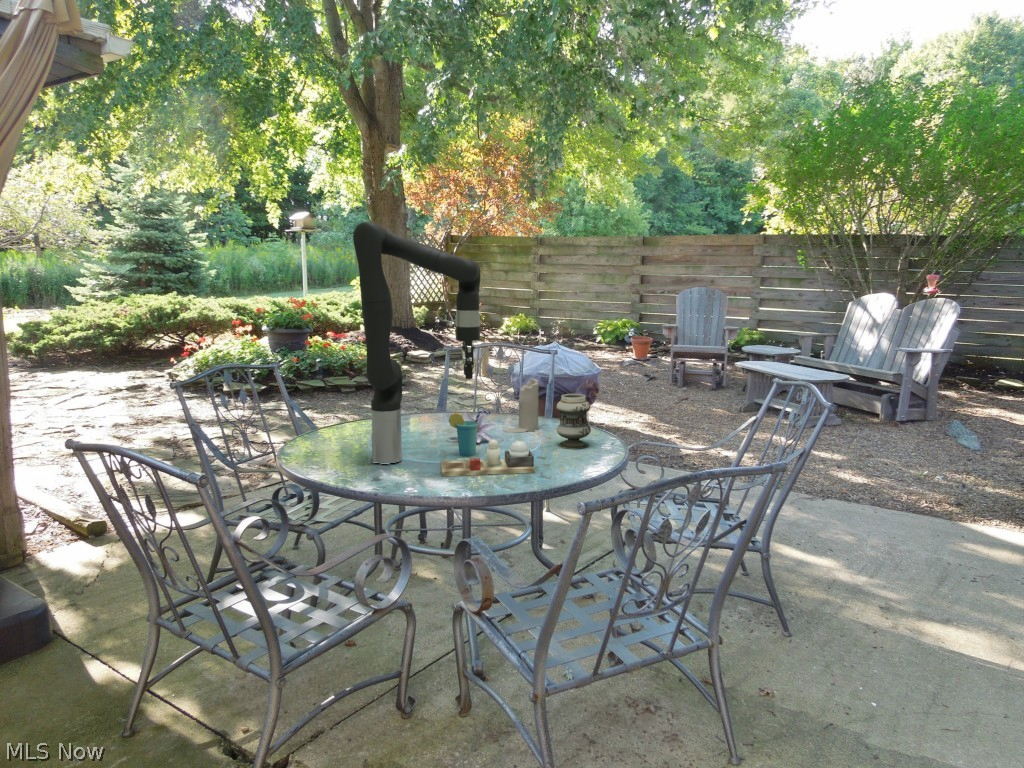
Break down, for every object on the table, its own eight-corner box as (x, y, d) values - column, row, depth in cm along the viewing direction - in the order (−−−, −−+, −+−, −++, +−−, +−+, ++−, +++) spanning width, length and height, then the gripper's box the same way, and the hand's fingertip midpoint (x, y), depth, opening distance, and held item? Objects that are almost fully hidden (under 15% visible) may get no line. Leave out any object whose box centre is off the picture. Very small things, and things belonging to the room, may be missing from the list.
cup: (489, 450, 228) (489, 407, 225) (492, 456, 220) (491, 412, 218) (448, 452, 226) (447, 408, 223) (450, 458, 218) (449, 413, 216)
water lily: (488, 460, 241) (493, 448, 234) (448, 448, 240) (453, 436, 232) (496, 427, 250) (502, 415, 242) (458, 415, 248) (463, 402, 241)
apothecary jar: (561, 440, 242) (561, 391, 239) (593, 442, 238) (594, 393, 235) (552, 448, 231) (552, 397, 228) (586, 450, 227) (587, 399, 224)
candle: (501, 429, 259) (500, 378, 256) (534, 427, 263) (534, 377, 260) (506, 433, 253) (506, 381, 249) (540, 431, 257) (541, 379, 254)
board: (442, 476, 198) (441, 461, 197) (441, 465, 209) (440, 451, 209) (534, 473, 201) (534, 458, 200) (528, 462, 213) (528, 448, 212)
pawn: (487, 466, 203) (487, 441, 202) (486, 462, 207) (486, 438, 206) (500, 465, 204) (500, 440, 202) (499, 462, 207) (499, 437, 206)
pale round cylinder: (510, 462, 203) (510, 443, 202) (508, 457, 209) (508, 439, 208) (530, 461, 204) (530, 443, 203) (527, 456, 209) (527, 438, 208)
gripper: (481, 326, 198) (482, 380, 201) (478, 323, 212) (478, 373, 215) (456, 326, 197) (457, 380, 200) (454, 323, 211) (455, 373, 214)
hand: (468, 376), depth 208 cm, fingers open, 8 cm apart
